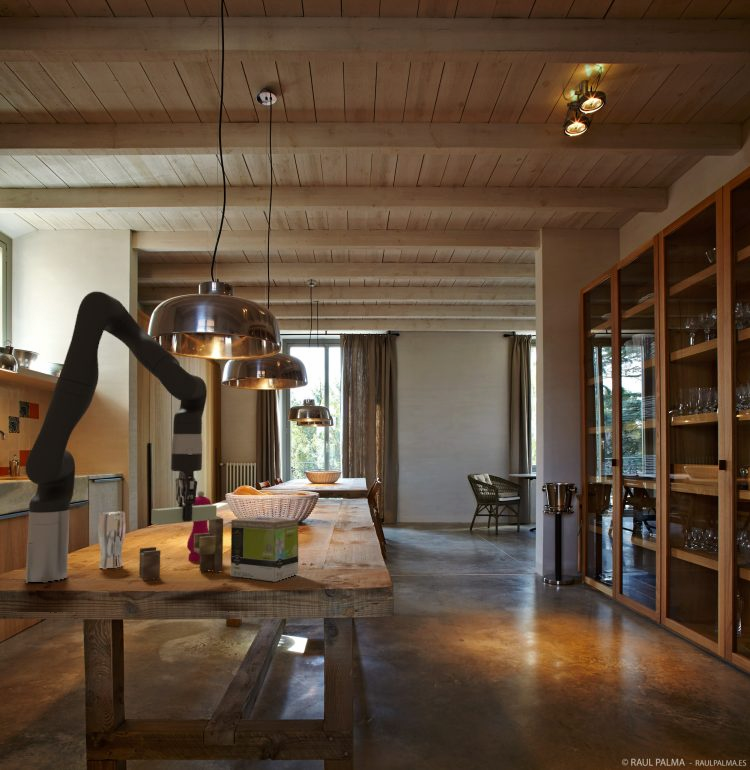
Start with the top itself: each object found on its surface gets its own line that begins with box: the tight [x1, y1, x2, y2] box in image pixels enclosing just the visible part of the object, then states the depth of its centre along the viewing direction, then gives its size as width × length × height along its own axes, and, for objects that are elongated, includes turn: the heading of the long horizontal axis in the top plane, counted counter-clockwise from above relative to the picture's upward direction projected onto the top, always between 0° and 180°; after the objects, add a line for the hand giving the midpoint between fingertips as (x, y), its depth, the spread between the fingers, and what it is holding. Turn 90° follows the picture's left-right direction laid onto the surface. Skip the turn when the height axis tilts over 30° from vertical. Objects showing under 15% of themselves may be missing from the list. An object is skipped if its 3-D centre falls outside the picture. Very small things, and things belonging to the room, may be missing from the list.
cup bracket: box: [194, 515, 224, 573], centre depth 166 cm, size 6×7×14 cm
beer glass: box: [97, 510, 127, 570], centre depth 171 cm, size 7×7×15 cm
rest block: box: [138, 546, 162, 581], centre depth 158 cm, size 4×7×7 cm, turn 30°
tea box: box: [230, 515, 299, 583], centre depth 159 cm, size 15×10×15 cm
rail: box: [150, 504, 218, 526], centre depth 155 cm, size 16×4×4 cm, turn 136°
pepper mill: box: [186, 490, 212, 562], centre depth 182 cm, size 7×7×20 cm
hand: (184, 519), depth 155 cm, fingers closed on rail, 4 cm apart
